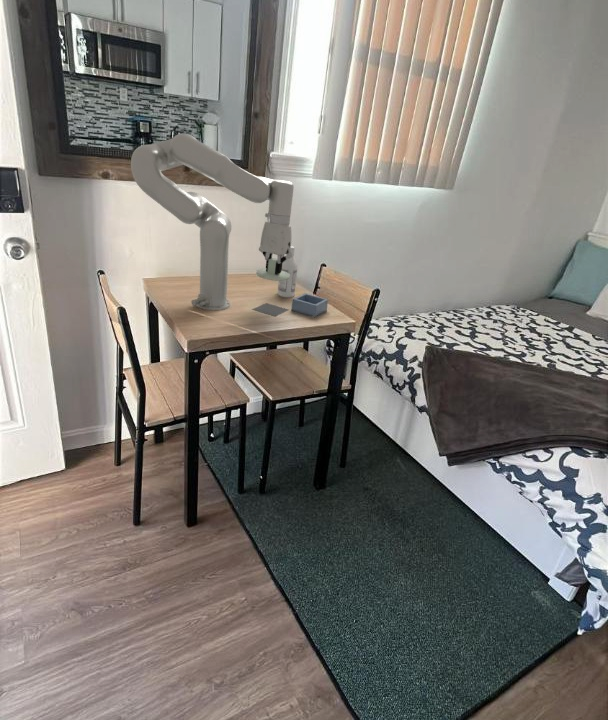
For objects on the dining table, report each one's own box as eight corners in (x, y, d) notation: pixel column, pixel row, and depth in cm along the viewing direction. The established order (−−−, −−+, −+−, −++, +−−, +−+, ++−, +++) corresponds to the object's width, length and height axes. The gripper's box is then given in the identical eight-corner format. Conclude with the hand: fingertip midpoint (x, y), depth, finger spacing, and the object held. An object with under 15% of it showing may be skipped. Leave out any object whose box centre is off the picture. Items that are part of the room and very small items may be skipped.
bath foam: (292, 293, 189) (297, 245, 180) (296, 298, 183) (301, 249, 175) (275, 292, 187) (280, 244, 178) (279, 298, 181) (284, 248, 173)
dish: (314, 318, 165) (316, 305, 163) (291, 311, 169) (292, 298, 167) (326, 311, 173) (328, 299, 171) (303, 305, 177) (305, 293, 175)
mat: (275, 317, 161) (275, 316, 161) (251, 310, 165) (251, 309, 164) (288, 310, 169) (289, 309, 169) (266, 304, 173) (266, 302, 173)
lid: (278, 282, 154) (280, 266, 151) (249, 274, 158) (250, 258, 156) (295, 276, 164) (297, 260, 161) (267, 268, 168) (269, 253, 166)
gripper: (252, 215, 153) (248, 268, 161) (294, 225, 147) (287, 280, 155) (264, 214, 159) (259, 265, 167) (305, 223, 153) (298, 276, 161)
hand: (273, 272), depth 161 cm, fingers closed on lid, 3 cm apart
